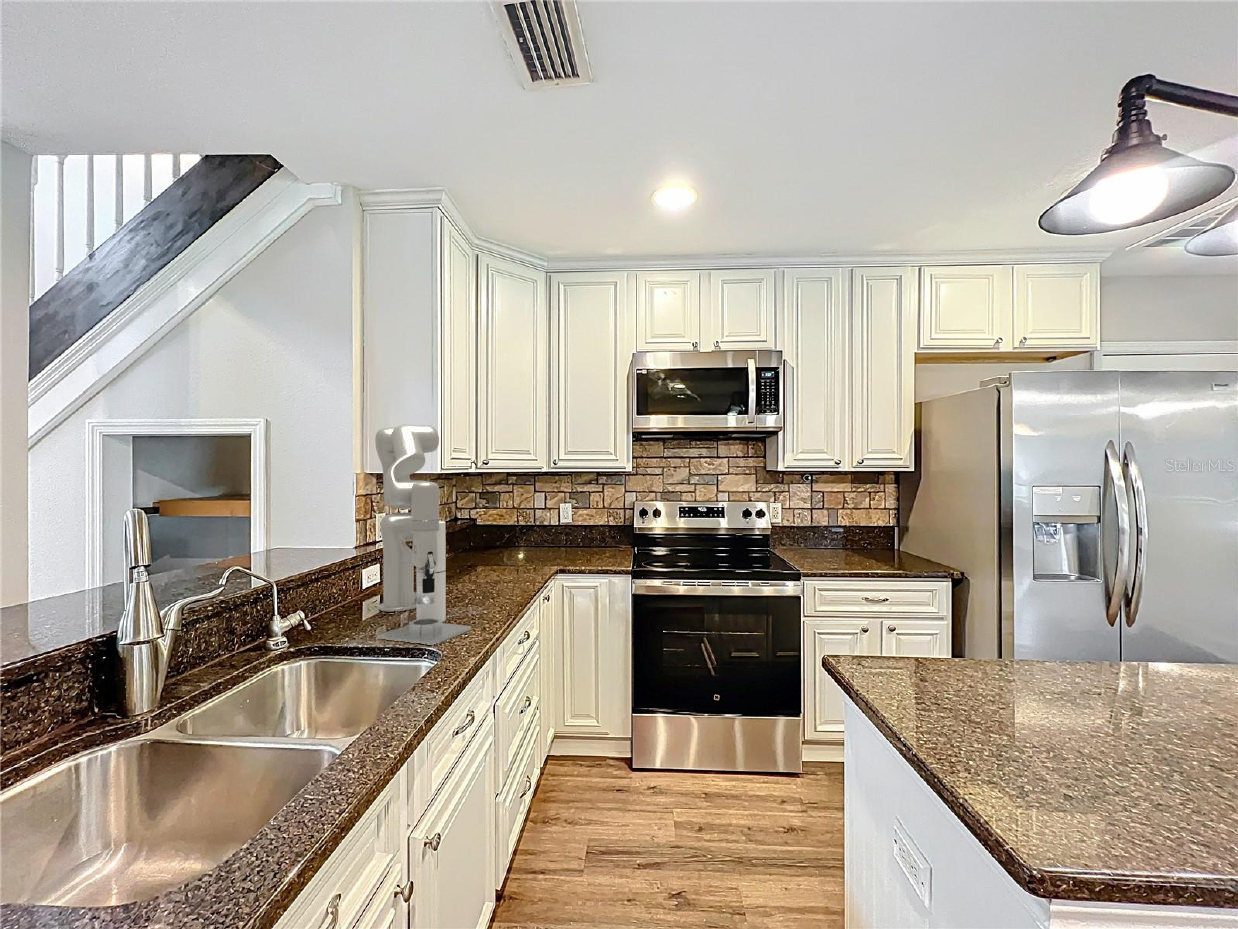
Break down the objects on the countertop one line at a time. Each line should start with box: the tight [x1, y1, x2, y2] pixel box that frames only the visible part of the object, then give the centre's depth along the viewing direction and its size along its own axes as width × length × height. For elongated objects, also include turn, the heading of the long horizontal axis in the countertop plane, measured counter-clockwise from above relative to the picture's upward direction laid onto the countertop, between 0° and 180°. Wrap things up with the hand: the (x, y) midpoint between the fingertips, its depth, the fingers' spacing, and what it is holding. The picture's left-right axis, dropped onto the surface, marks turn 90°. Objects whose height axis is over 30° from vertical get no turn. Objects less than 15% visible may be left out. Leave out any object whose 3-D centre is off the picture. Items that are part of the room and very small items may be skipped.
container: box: [416, 520, 447, 623], centre depth 197 cm, size 9×9×30 cm
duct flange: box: [376, 618, 472, 646], centre depth 180 cm, size 18×18×4 cm
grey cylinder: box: [415, 566, 435, 605], centre depth 180 cm, size 5×5×10 cm
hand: (425, 590), depth 180 cm, fingers closed on grey cylinder, 5 cm apart
